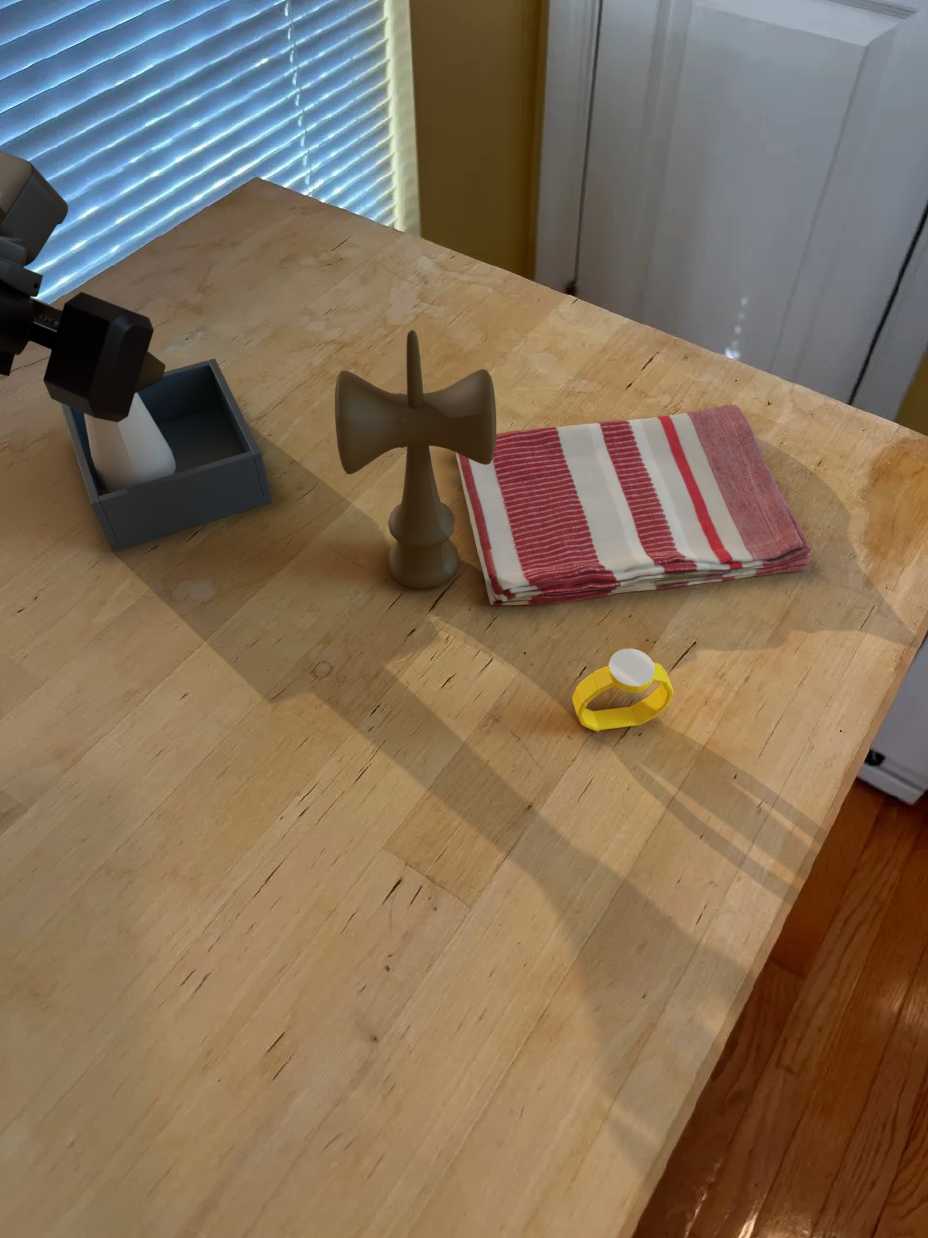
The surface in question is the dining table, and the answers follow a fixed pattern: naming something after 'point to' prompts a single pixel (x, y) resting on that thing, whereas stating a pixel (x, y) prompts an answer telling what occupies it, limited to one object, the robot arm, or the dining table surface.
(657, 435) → the dish towel
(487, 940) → the dining table surface
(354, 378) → the kendama
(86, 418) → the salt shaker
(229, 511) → the bin
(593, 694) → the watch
